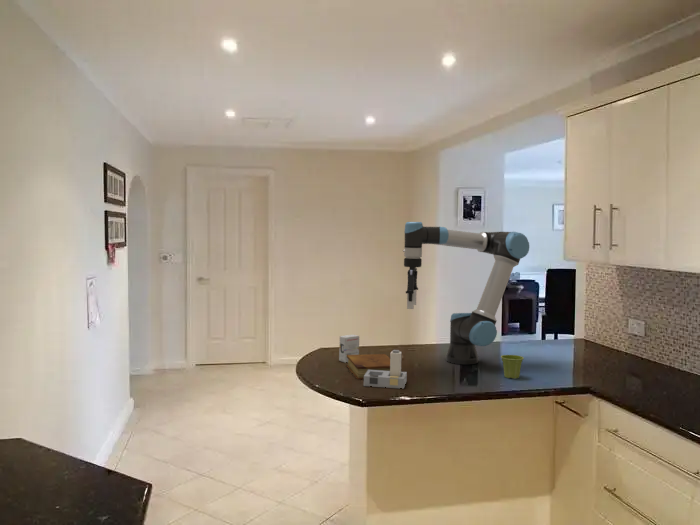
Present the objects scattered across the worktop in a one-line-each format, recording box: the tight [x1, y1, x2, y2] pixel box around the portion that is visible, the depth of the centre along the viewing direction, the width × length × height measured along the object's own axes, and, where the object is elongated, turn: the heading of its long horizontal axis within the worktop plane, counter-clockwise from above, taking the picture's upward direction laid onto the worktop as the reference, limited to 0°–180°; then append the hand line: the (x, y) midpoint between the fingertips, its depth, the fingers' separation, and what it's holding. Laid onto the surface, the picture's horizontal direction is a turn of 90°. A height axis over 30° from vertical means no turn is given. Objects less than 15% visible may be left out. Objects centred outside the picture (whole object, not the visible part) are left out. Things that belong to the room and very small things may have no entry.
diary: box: [346, 353, 390, 380], centre depth 263 cm, size 23×19×6 cm
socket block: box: [363, 370, 408, 390], centre depth 243 cm, size 16×11×4 cm
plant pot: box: [500, 354, 525, 380], centre depth 258 cm, size 9×9×9 cm
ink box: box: [338, 334, 360, 364], centre depth 283 cm, size 9×5×12 cm, turn 129°
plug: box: [389, 349, 402, 377], centre depth 242 cm, size 4×4×13 cm
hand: (411, 306), depth 261 cm, fingers open, 13 cm apart
